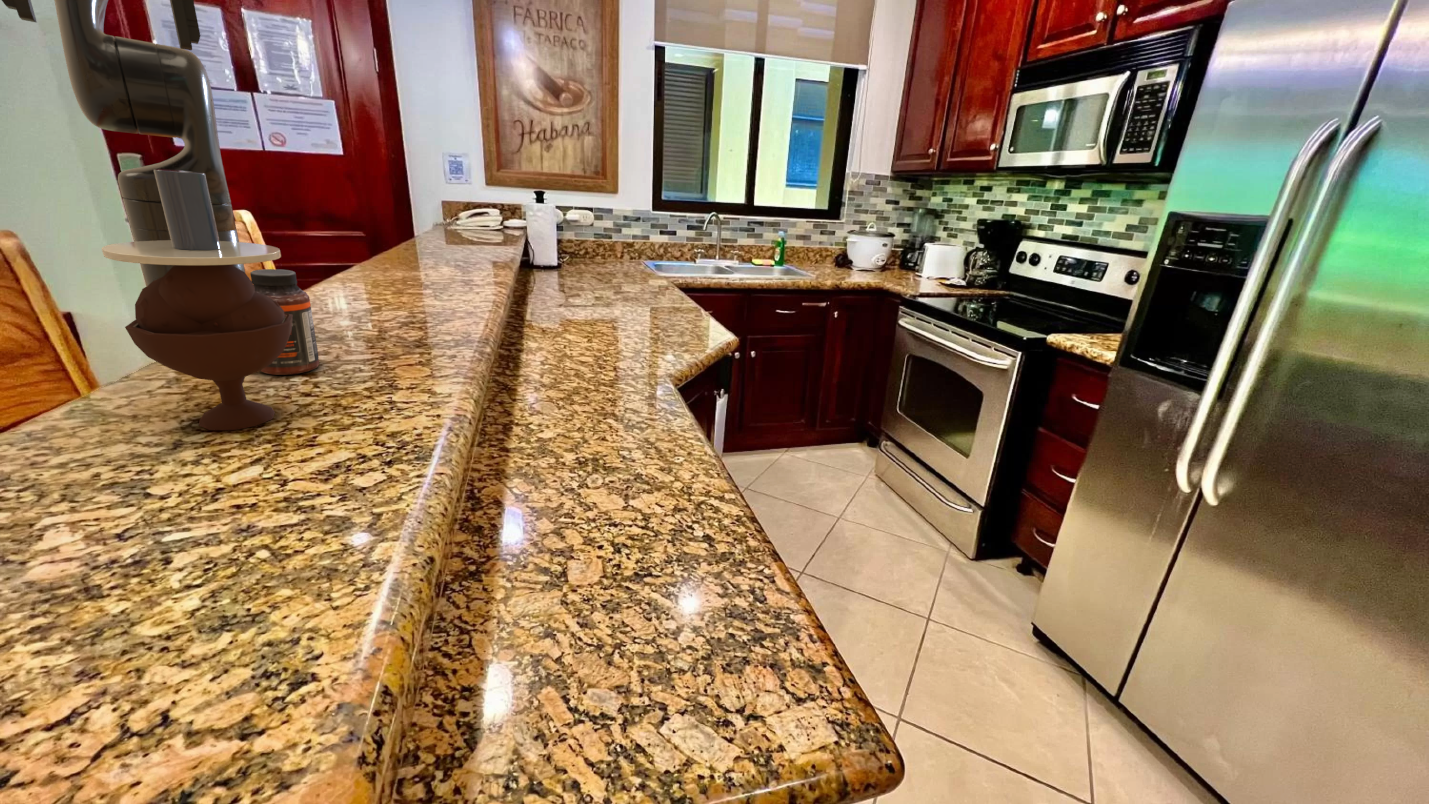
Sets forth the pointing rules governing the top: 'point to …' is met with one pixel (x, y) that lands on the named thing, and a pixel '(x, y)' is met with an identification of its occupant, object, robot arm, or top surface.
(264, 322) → the ice cream bowl
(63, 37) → the robot arm
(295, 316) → the supplement bottle
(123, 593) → the top surface
